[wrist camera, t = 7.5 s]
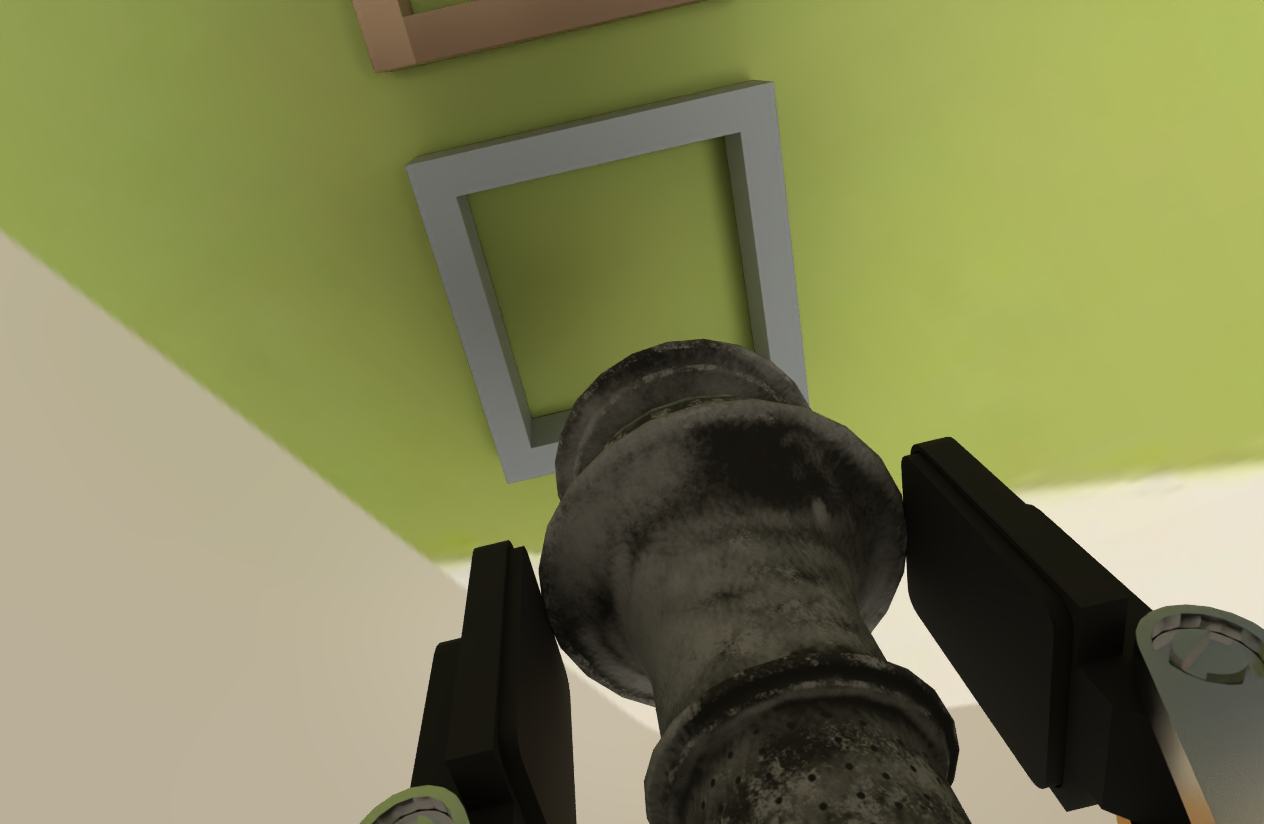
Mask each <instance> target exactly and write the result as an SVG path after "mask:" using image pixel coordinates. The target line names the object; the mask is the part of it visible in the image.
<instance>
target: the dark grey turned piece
mask: <svg viewBox="0 0 1264 824" xmlns="http://www.w3.org/2000/svg"><path fill="white" fill-rule="evenodd" d="M555 471H556V480H557V490H558V496H559V499H560V503H559V505H558V507H557V509H556V511H555V513H554V514H553V516H552V518H551V520H550V522H549V524H548V526H547V529H546V534H545V539H544V544H543V549H542V554H541V559H540V564H539V579H540V587H541V595H542V600H543V604H544V607H545V611H546V614H547V617H548V620H549V623H550V625H551V628H552V631H553V633H554V635H555V637H556V639H557V641H558V643H559V646H560V648H561V649H562V650H563V651H564V652H565V653H566V654H567V655H568V656H569V657H570V658H571V659H572V660H573V661H574V663H575V664H576V665H577V666H578V667H579V668H580V669H581V670H582V671H583V672H584V673H585V674H586V675H587V676H588V677H590V678H591V679H593V680H595V681H596V682H598V683H600V684H601V685H603V686H605V687H606V688H608V689H610V690H611V691H613V692H615V693H616V694H618V695H620V696H621V697H624V698H627V699H630V700H633V701H637V702H640V703H643V704H646V705H650V706H653V707H656V712H657V718H658V724H659V729H660V735H661V739H660V741H659V742H658V744H657V745H656V747H655V748H654V750H653V752H652V756H651V759H650V763H649V766H648V769H647V773H646V776H645V780H644V789H645V803H646V814H647V819H648V821H649V823H650V824H971V822H970V820H969V818H968V817H967V815H966V813H965V811H964V809H963V808H962V806H961V804H960V803H959V801H958V799H957V797H956V795H955V793H954V792H953V790H952V788H951V785H952V783H953V781H954V777H955V771H956V766H957V760H958V755H959V745H958V739H957V734H956V728H955V723H954V720H953V719H952V717H951V715H950V714H949V712H948V710H947V709H946V707H945V706H944V704H943V703H942V701H941V699H940V698H939V696H938V695H937V693H936V691H935V690H934V689H933V688H932V687H930V686H929V685H928V684H927V683H925V682H924V681H923V680H921V679H920V678H919V677H917V676H916V675H915V674H914V673H912V672H911V671H910V670H908V669H906V668H904V667H901V666H898V665H896V664H893V663H890V662H888V661H887V660H886V659H885V657H884V655H883V653H882V652H881V650H880V648H879V647H878V645H877V643H876V641H875V640H874V638H873V636H872V634H871V632H872V631H873V630H874V628H875V627H876V626H877V624H878V623H879V622H880V620H881V619H882V618H883V617H884V615H885V614H886V612H887V611H888V609H889V606H890V604H891V602H892V599H893V597H894V595H895V592H896V590H897V588H898V585H899V583H900V581H901V578H902V576H903V574H904V567H905V560H906V552H907V537H908V536H907V527H906V518H905V510H904V505H903V499H902V494H901V493H900V491H899V489H898V487H897V486H896V484H895V482H894V480H893V478H892V477H891V475H890V473H889V471H888V470H887V468H886V466H885V464H884V463H883V461H882V459H881V458H880V457H879V455H877V454H876V453H875V452H874V451H873V450H872V449H871V448H870V447H869V446H867V445H866V444H865V443H864V442H863V441H862V440H861V439H860V438H858V437H857V436H856V435H855V434H854V433H853V432H852V431H851V430H850V429H848V428H847V427H846V426H844V425H842V424H840V423H837V422H835V421H833V420H831V419H829V418H827V417H824V416H822V415H820V414H818V413H816V412H814V411H812V410H811V408H810V407H809V405H808V403H807V402H806V400H805V398H804V397H803V395H802V393H801V391H800V390H799V388H798V386H797V385H796V383H795V382H794V381H793V380H792V379H791V378H790V377H789V376H787V375H786V374H785V373H784V372H783V371H782V370H781V369H780V368H779V367H777V366H776V365H775V364H774V363H773V362H772V361H771V360H769V359H767V358H765V357H763V356H761V355H759V354H757V353H755V352H752V351H750V350H748V349H746V348H744V347H742V346H740V345H735V344H730V343H724V342H718V341H712V340H707V339H698V340H686V341H674V342H666V343H663V344H660V345H657V346H654V347H651V348H648V349H645V350H642V351H639V352H636V353H633V354H631V355H630V356H628V357H626V358H625V359H623V360H622V361H620V362H619V363H617V364H616V365H614V366H612V367H611V368H609V369H608V370H606V371H605V372H603V373H602V374H600V375H599V376H598V378H597V379H596V380H595V381H594V382H593V383H592V384H591V385H590V386H589V387H588V388H587V389H586V391H585V392H584V393H583V394H582V395H581V396H580V397H579V398H578V399H577V400H576V402H575V404H574V406H573V408H572V410H571V412H570V414H569V416H568V418H567V420H566V422H565V424H564V425H563V427H562V429H561V433H560V438H559V443H558V448H557V453H556V458H555Z"/></svg>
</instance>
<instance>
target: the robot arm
mask: <svg viewBox="0 0 1264 824" xmlns="http://www.w3.org/2000/svg"><path fill="white" fill-rule="evenodd" d="M901 470H902V488H903V505H904V510H905V518H906V527H907V536H908V537H907V552H906V562H907V581H908V592H909V597H910V600H911V603H912V605H913V607H914V609H915V611H916V613H917V614H918V616H919V617H920V619H921V620H922V622H923V623H924V625H925V626H926V628H927V629H928V630H929V632H930V633H931V635H932V636H933V638H934V639H935V641H936V642H937V644H938V645H939V646H940V648H941V649H942V651H943V652H944V654H945V655H946V657H947V658H948V660H949V661H950V662H951V664H952V665H953V667H954V668H955V670H956V671H957V673H958V674H959V676H960V677H961V679H962V680H963V681H964V683H965V684H966V686H967V687H968V689H969V690H970V692H971V693H972V695H973V696H974V697H975V699H976V700H977V702H978V703H979V705H980V706H981V708H982V709H983V711H984V712H985V714H986V715H987V716H988V718H989V719H990V721H991V722H992V723H993V725H994V727H995V728H996V729H997V731H998V732H999V734H1000V735H1001V737H1002V738H1003V740H1004V741H1005V743H1006V744H1007V746H1008V747H1009V748H1010V750H1011V751H1012V753H1013V754H1014V755H1015V757H1016V759H1017V760H1018V762H1019V763H1020V764H1021V766H1022V767H1023V769H1024V770H1025V772H1026V773H1027V775H1028V776H1029V778H1030V779H1031V780H1032V781H1033V783H1034V784H1035V785H1036V786H1037V787H1039V788H1041V789H1044V788H1047V787H1049V788H1050V789H1051V790H1052V792H1053V793H1054V794H1055V796H1056V797H1057V799H1058V800H1059V802H1060V803H1061V805H1062V806H1063V807H1064V809H1065V810H1066V812H1068V811H1072V810H1076V809H1080V808H1084V807H1089V806H1093V805H1096V804H1098V805H1099V806H1100V807H1101V809H1103V810H1105V811H1108V812H1110V813H1113V814H1115V815H1116V816H1117V823H1118V824H1264V629H1262V628H1261V627H1259V626H1258V625H1256V624H1255V623H1253V622H1251V621H1249V620H1247V619H1244V618H1242V617H1240V616H1238V615H1235V614H1233V613H1230V612H1226V611H1223V610H1219V609H1215V608H1211V607H1206V606H1196V605H1174V606H1165V607H1162V608H1159V609H1156V610H1152V609H1150V608H1149V607H1148V606H1147V605H1146V604H1145V603H1144V602H1143V601H1141V600H1140V599H1139V598H1138V597H1137V596H1136V595H1135V594H1134V593H1133V592H1131V591H1130V590H1129V589H1128V588H1127V587H1126V586H1125V585H1124V584H1122V583H1121V582H1120V581H1119V580H1118V579H1117V578H1116V577H1115V576H1113V575H1112V574H1111V573H1110V572H1109V571H1108V570H1107V569H1106V568H1104V567H1103V566H1102V565H1101V564H1100V563H1099V562H1098V561H1097V560H1095V559H1094V558H1093V557H1092V556H1091V555H1090V554H1089V553H1088V552H1086V551H1085V550H1084V549H1083V548H1082V547H1081V546H1080V545H1079V544H1078V543H1076V542H1075V541H1074V540H1073V539H1072V538H1071V537H1070V536H1069V535H1067V534H1066V533H1065V532H1064V531H1063V530H1062V529H1061V528H1060V527H1058V526H1057V525H1056V524H1055V523H1054V522H1053V521H1052V520H1051V519H1049V518H1048V517H1047V516H1046V515H1045V514H1044V513H1043V512H1042V511H1040V510H1039V509H1038V508H1036V507H1035V506H1033V505H1029V504H1025V503H1024V502H1023V501H1022V500H1021V499H1020V498H1019V497H1018V496H1017V495H1016V494H1014V493H1013V492H1012V491H1011V490H1010V489H1009V488H1008V487H1007V486H1006V485H1004V484H1003V483H1002V482H1001V481H1000V480H999V479H998V478H997V477H996V476H994V475H993V474H992V473H991V472H990V471H989V470H988V469H987V468H986V467H985V466H983V465H982V464H981V463H980V462H979V461H978V460H977V459H976V458H975V457H973V456H972V455H971V454H970V453H969V452H968V451H967V450H966V449H965V448H964V447H962V446H961V445H960V444H959V443H958V442H957V441H956V440H955V439H953V438H952V437H944V438H940V439H936V440H931V441H927V442H923V443H919V444H914V445H913V446H912V449H911V455H907V456H904V457H903V458H902V461H901ZM572 745H573V744H572V723H571V703H570V690H569V683H568V678H567V674H566V671H565V667H564V664H563V661H562V658H561V655H560V652H559V648H558V645H557V642H556V639H555V636H554V633H553V631H552V628H551V625H550V623H549V620H548V617H547V614H546V611H545V607H544V604H543V600H542V596H541V593H540V590H539V587H538V584H537V580H536V577H535V574H534V571H533V568H532V565H531V562H530V559H529V556H528V553H527V550H526V548H525V547H524V546H522V547H518V548H513V545H512V543H511V542H510V541H509V540H507V541H503V542H499V543H495V544H490V545H486V546H482V547H478V548H475V549H474V551H473V556H472V563H471V570H470V578H469V585H468V592H467V600H466V607H465V615H464V622H463V629H462V637H461V638H458V639H454V640H450V641H446V642H442V643H439V644H438V645H437V646H436V650H435V653H434V658H433V663H432V669H431V674H430V680H429V685H428V691H427V697H426V702H425V708H424V714H423V719H422V725H421V731H420V736H419V742H418V747H417V753H416V758H415V764H414V769H413V775H412V781H411V787H410V788H409V789H406V790H404V791H402V792H400V793H397V794H395V795H392V796H391V797H389V798H388V799H387V800H385V801H384V802H382V803H381V804H379V805H378V806H376V807H375V808H374V809H373V810H372V811H371V812H370V813H369V814H368V815H367V816H366V817H365V818H364V820H362V821H361V823H360V824H576V804H575V784H574V765H573V746H572Z"/></svg>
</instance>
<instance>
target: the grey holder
mask: <svg viewBox="0 0 1264 824" xmlns="http://www.w3.org/2000/svg"><path fill="white" fill-rule="evenodd" d="M720 136H724V138H725V145H726V152H727V159H728V166H729V173H730V180H731V187H732V194H733V201H734V209H735V216H736V223H737V230H738V237H739V244H740V251H741V258H742V265H743V272H744V279H745V287H746V294H747V301H748V308H749V315H750V322H751V329H752V336H753V343H754V350H755V353H757V354H759V355H761V356H763V357H765V358H767V359H769V360H771V361H772V362H773V363H774V364H775V365H776V366H777V367H779V368H780V369H781V370H782V371H783V372H784V373H785V374H786V375H787V376H789V377H790V378H791V379H792V380H793V381H794V382H795V383H796V385H797V386H798V388H799V390H800V391H801V393H802V395H803V397H804V398H805V400H806V402H807V403H808V405H809V397H808V388H807V379H806V370H805V361H804V352H803V343H802V334H801V325H800V316H799V307H798V298H797V289H796V279H795V270H794V261H793V252H792V243H791V234H790V225H789V216H788V207H787V198H786V189H785V180H784V171H783V162H782V153H781V144H780V135H779V126H778V117H777V108H776V98H775V89H774V82H770V81H757V80H751V81H747V82H742V83H738V84H733V85H729V86H725V87H720V88H716V89H711V90H707V91H703V92H698V93H694V94H689V95H685V96H681V97H676V98H672V99H668V100H663V101H659V102H654V103H650V104H646V105H641V106H637V107H632V108H628V109H624V110H619V111H615V112H610V113H606V114H602V115H597V116H593V117H588V118H584V119H580V120H575V121H571V122H566V123H562V124H558V125H553V126H549V127H545V128H540V129H536V130H531V131H527V132H523V133H518V134H514V135H509V136H505V137H501V138H496V139H492V140H487V141H483V142H479V143H474V144H470V145H465V146H461V147H457V148H452V149H448V150H443V151H439V152H435V153H430V154H426V155H422V156H417V157H416V158H415V159H413V160H412V161H411V162H409V163H408V164H407V165H405V167H406V170H407V173H408V177H409V180H410V183H411V186H412V189H413V192H414V195H415V198H416V201H417V204H418V208H419V211H420V214H421V217H422V220H423V223H424V226H425V229H426V232H427V235H428V239H429V242H430V245H431V248H432V251H433V254H434V257H435V260H436V263H437V266H438V270H439V273H440V276H441V279H442V282H443V285H444V288H445V291H446V294H447V297H448V301H449V304H450V307H451V310H452V313H453V316H454V319H455V322H456V325H457V328H458V332H459V335H460V338H461V341H462V344H463V347H464V350H465V353H466V356H467V359H468V363H469V366H470V369H471V372H472V375H473V378H474V381H475V384H476V387H477V391H478V394H479V397H480V400H481V403H482V406H483V409H484V412H485V415H486V418H487V422H488V425H489V428H490V431H491V434H492V437H493V440H494V443H495V446H496V449H497V453H498V456H499V459H500V462H501V465H502V468H503V471H504V474H505V477H506V480H507V484H510V483H514V482H519V481H523V480H527V479H531V478H536V477H540V476H544V475H548V474H553V473H556V471H555V458H556V453H557V448H558V443H559V438H560V433H561V429H562V427H563V425H564V424H565V422H566V420H567V418H568V416H569V414H570V412H571V410H567V411H563V412H559V413H554V414H550V415H546V416H542V417H537V418H533V419H532V417H531V414H530V410H529V407H528V404H527V400H526V397H525V393H524V390H523V387H522V383H521V380H520V376H519V373H518V369H517V366H516V363H515V359H514V356H513V352H512V349H511V346H510V342H509V339H508V335H507V332H506V329H505V325H504V322H503V318H502V315H501V311H500V308H499V305H498V301H497V298H496V294H495V291H494V288H493V284H492V281H491V277H490V274H489V270H488V267H487V264H486V260H485V257H484V253H483V250H482V247H481V243H480V240H479V236H478V233H477V229H476V226H475V223H474V219H473V216H472V212H471V209H470V206H469V202H468V199H467V194H471V193H475V192H480V191H484V190H488V189H493V188H497V187H502V186H506V185H510V184H515V183H519V182H523V181H528V180H532V179H537V178H541V177H545V176H550V175H554V174H558V173H563V172H567V171H572V170H576V169H580V168H585V167H589V166H593V165H598V164H602V163H607V162H611V161H615V160H620V159H624V158H628V157H633V156H637V155H642V154H646V153H650V152H655V151H659V150H663V149H668V148H672V147H677V146H681V145H685V144H690V143H694V142H698V141H703V140H707V139H712V138H716V137H720ZM809 407H810V406H809Z"/></svg>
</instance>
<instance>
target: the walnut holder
mask: <svg viewBox="0 0 1264 824" xmlns="http://www.w3.org/2000/svg"><path fill="white" fill-rule="evenodd" d="M702 1H707V0H476V1H471V2H467V3H462V4H458V5H453V6H449V7H445V8H440V9H436V10H431V11H427V12H422V13H418V14H413V11H412V8H411V4H410V1H409V0H352V3H353V6H354V9H355V12H356V15H357V18H358V21H359V25H360V28H361V31H362V34H363V37H364V40H365V43H366V46H367V49H368V52H369V56H370V59H371V62H372V65H373V68H374V71H375V73H380V72H392V71H397V70H401V69H406V68H410V67H414V66H419V65H423V64H428V63H432V62H437V61H441V60H445V59H450V58H454V57H459V56H463V55H468V54H472V53H476V52H481V51H485V50H490V49H494V48H499V47H503V46H507V45H512V44H516V43H521V42H525V41H530V40H534V39H538V38H543V37H547V36H552V35H556V34H560V33H565V32H569V31H574V30H578V29H583V28H587V27H591V26H596V25H600V24H605V23H609V22H614V21H618V20H622V19H627V18H631V17H636V16H640V15H645V14H649V13H653V12H658V11H662V10H667V9H671V8H676V7H680V6H684V5H689V4H693V3H698V2H702Z"/></svg>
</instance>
